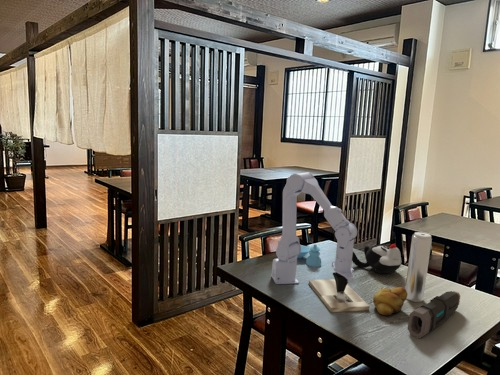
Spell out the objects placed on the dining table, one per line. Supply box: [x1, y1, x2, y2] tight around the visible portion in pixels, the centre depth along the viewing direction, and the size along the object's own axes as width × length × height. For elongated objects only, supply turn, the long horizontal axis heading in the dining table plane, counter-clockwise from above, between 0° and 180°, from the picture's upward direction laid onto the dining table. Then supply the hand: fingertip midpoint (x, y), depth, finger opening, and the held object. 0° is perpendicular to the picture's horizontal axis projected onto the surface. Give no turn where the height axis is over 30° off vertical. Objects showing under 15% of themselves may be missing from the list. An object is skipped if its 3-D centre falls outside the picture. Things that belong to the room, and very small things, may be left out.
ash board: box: [308, 278, 370, 313], centre depth 133 cm, size 14×22×2 cm, turn 11°
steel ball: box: [336, 291, 348, 303], centre depth 128 cm, size 4×4×4 cm
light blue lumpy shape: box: [297, 244, 322, 268], centre depth 167 cm, size 18×10×9 cm, turn 37°
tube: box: [407, 290, 461, 339], centre depth 118 cm, size 11×7×30 cm
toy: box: [352, 243, 402, 275], centre depth 160 cm, size 16×17×20 cm
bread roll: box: [372, 286, 408, 316], centre depth 125 cm, size 13×10×8 cm
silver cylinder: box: [404, 231, 433, 303], centre depth 133 cm, size 6×6×25 cm
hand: (340, 292), depth 130 cm, fingers closed
